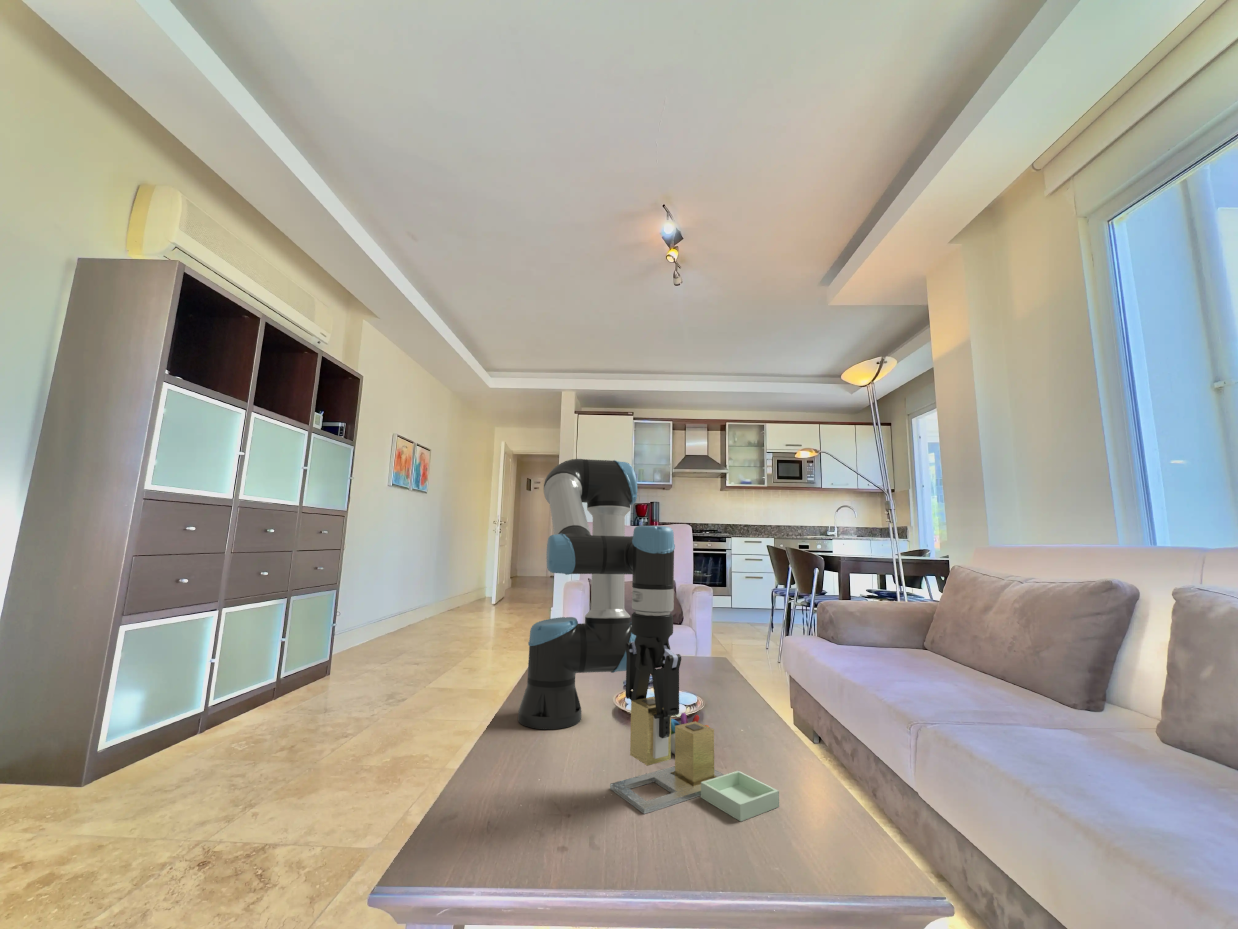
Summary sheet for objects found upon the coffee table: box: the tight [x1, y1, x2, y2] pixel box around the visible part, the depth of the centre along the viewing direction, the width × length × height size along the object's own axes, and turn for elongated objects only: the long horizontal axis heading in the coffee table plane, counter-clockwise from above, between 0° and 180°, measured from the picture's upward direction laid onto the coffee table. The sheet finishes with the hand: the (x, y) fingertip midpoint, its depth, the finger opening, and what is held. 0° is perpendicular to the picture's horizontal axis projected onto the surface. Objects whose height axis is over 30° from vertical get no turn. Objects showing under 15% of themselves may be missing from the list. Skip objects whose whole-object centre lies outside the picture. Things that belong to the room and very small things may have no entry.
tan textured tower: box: [674, 721, 715, 786], centre depth 94 cm, size 5×5×9 cm
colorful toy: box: [671, 712, 710, 755], centre depth 108 cm, size 8×10×7 cm
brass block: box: [629, 696, 672, 767], centre depth 90 cm, size 5×5×9 cm
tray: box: [700, 770, 780, 822], centre depth 86 cm, size 9×9×2 cm
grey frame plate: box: [609, 765, 725, 815], centre depth 91 cm, size 10×20×1 cm, turn 123°
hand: (650, 750), depth 90 cm, fingers closed on brass block, 5 cm apart
